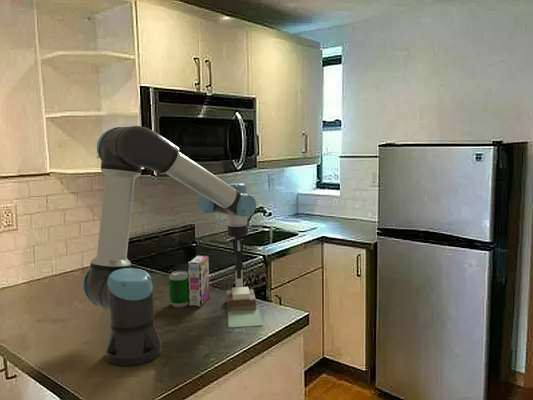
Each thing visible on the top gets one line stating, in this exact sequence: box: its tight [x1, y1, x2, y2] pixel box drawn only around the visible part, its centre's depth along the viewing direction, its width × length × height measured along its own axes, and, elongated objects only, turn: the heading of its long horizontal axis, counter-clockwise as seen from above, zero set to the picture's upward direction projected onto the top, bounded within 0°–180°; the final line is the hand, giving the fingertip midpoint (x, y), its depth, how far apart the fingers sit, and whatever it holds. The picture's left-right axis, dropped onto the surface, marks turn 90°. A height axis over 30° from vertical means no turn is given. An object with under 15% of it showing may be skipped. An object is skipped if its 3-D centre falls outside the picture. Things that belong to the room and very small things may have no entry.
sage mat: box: [227, 309, 264, 329], centre depth 154 cm, size 14×11×1 cm
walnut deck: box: [226, 288, 257, 312], centre depth 166 cm, size 12×10×4 cm
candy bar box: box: [187, 255, 210, 308], centre depth 171 cm, size 11×5×16 cm, turn 171°
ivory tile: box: [231, 286, 250, 300], centre depth 165 cm, size 8×6×2 cm
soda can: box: [168, 270, 189, 308], centre depth 168 cm, size 8×8×12 cm
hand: (239, 286), depth 174 cm, fingers closed
